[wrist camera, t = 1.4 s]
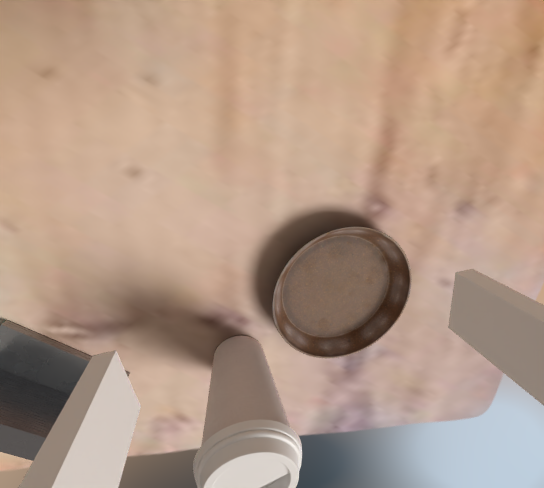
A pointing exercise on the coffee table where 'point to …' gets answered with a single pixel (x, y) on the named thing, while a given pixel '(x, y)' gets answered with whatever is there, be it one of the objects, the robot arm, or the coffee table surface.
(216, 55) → the coffee table surface
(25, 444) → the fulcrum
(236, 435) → the coffee cup
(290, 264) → the plant saucer
